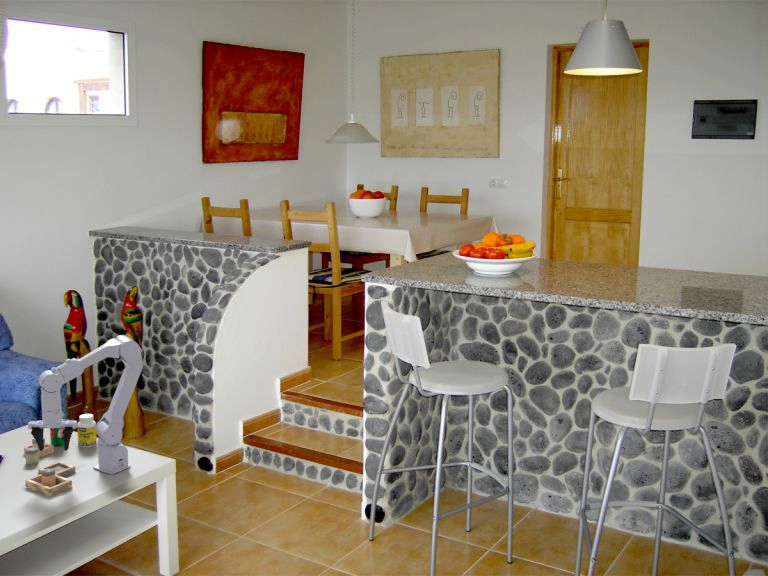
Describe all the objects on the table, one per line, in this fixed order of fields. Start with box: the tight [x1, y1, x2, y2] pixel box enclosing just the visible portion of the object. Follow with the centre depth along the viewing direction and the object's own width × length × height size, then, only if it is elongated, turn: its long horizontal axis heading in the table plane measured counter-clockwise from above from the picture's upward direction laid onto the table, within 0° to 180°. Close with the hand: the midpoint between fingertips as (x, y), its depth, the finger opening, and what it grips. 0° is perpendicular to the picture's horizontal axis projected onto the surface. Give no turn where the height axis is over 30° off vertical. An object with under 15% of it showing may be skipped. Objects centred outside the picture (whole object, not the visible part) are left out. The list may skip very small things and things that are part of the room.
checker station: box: [24, 460, 76, 497], centre depth 261 cm, size 17×16×2 cm
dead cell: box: [31, 437, 46, 450], centre depth 281 cm, size 4×4×5 cm
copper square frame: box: [23, 442, 55, 459], centre depth 281 cm, size 7×7×3 cm
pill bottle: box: [76, 413, 97, 448], centre depth 290 cm, size 6×6×11 cm
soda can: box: [49, 411, 66, 448], centre depth 289 cm, size 5×5×12 cm
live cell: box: [40, 469, 57, 487], centre depth 257 cm, size 4×4×5 cm
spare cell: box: [24, 448, 40, 466], centre depth 273 cm, size 4×4×5 cm
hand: (54, 449), depth 261 cm, fingers open, 7 cm apart
